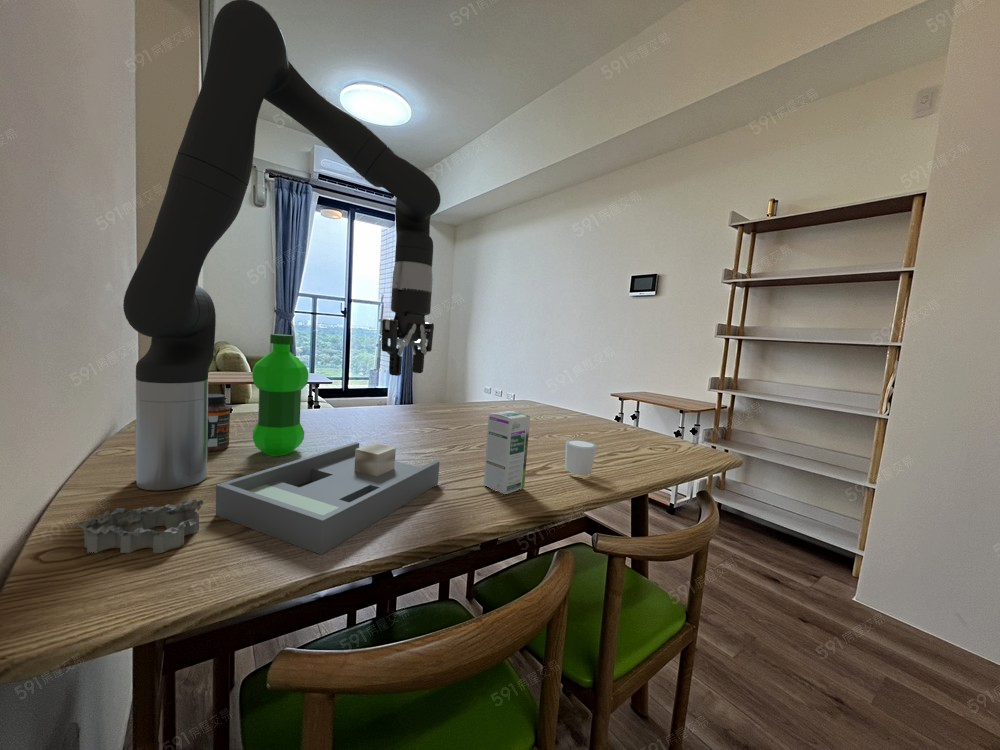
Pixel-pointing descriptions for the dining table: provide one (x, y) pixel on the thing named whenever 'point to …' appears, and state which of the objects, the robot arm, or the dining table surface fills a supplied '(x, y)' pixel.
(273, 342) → the plastic bottle
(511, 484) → the syrup box
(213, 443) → the supplement bottle
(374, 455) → the block
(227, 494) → the box
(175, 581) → the dining table surface
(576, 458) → the white cylinder
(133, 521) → the grey cookie cutter
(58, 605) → the dining table surface
